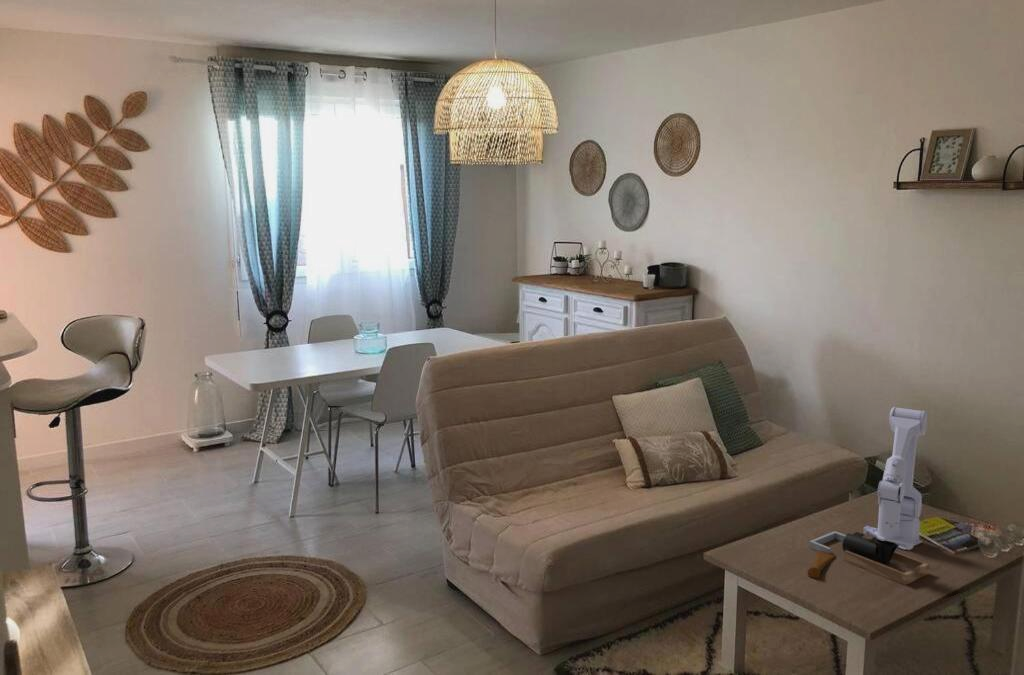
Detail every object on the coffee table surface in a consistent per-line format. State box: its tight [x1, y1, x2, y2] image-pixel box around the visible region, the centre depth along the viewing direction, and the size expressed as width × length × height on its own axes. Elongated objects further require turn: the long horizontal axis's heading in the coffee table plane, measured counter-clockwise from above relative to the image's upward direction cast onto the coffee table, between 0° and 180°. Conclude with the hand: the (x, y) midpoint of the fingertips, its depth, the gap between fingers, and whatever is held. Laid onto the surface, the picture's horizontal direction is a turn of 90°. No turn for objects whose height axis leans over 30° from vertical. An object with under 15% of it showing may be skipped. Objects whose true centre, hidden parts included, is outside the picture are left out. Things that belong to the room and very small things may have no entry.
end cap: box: [842, 531, 882, 563], centre depth 252 cm, size 10×7×7 cm
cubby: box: [843, 550, 931, 586], centre depth 246 cm, size 12×20×3 cm, turn 34°
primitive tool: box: [807, 551, 837, 579], centre depth 248 cm, size 19×6×4 cm, turn 151°
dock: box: [808, 530, 846, 554], centre depth 261 cm, size 13×7×2 cm, turn 124°
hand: (885, 563), depth 246 cm, fingers closed
